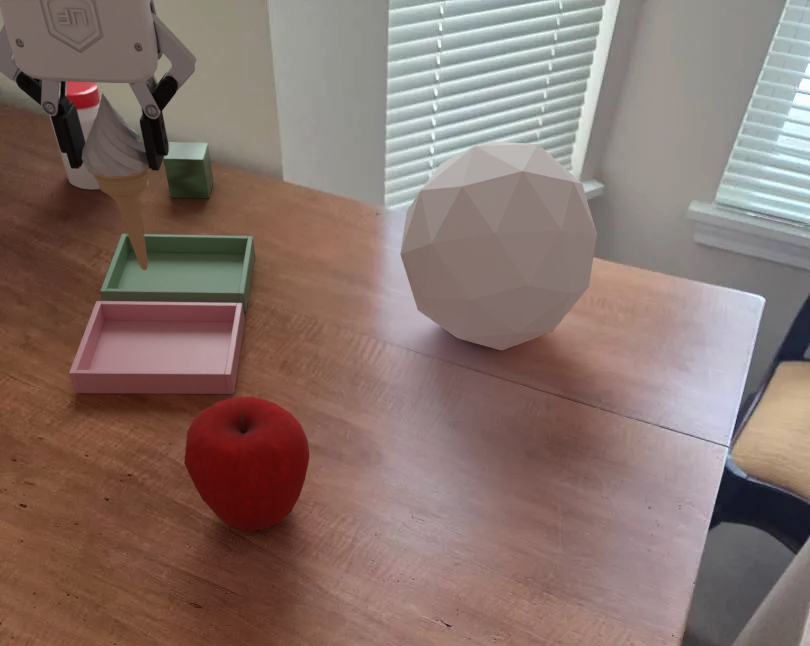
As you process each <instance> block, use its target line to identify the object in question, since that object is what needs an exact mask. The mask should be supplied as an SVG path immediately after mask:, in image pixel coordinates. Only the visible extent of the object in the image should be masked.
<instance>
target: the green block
mask: <svg viewBox="0 0 810 646" xmlns="http://www.w3.org/2000/svg"><path fill="white" fill-rule="evenodd" d="M168 145H169V153H168V155H167V156H164V158H163V164H164V169H165V175H166V179H167V180H166V181H167V185H168V188H169V189H168V190H169V195H170V198H172V199H173V198H175V199H176V198H179V199H210V196H211V192H212V190H213V189H212V188H213V185H214V176H213V175H214V174H213V168H212V162H211V155H210V154H211V153H210V149H209V142H190V141H189V142H188V141H187V142H186V141H182V142H181V141H168Z"/></svg>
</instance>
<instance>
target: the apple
mask: <svg viewBox="0 0 810 646" xmlns="http://www.w3.org/2000/svg"><path fill="white" fill-rule="evenodd" d="M185 441H186V442H185V443H186V444H185V452H184V462H183V463H184V466H185V469H186V470H187V473H188V475H189V477H190V479H191V481H192V482H193V485H194V487H195V489H196V491H197V493H198V494H199V496H200V498H201V500H202V501H203V502H204V503H205V505H207V506H208V508H209V509H211V511H212V512H213V513H214V514H215V515H216V516H217V517H218V519H220V520H221V521H222V522H224V523H226V525H228V526H230V527H232V528H237V529H241V530H249V531H251V530H265V529H268V528H270V527H273V526H276V525H278V524H281V523H282V522H283V521H284V520H285V519H286V518H287V517H288V516H289V515H290V514H291V513H292V511H293V509H294V507H295V505H296V503H297V502H298V500H299V498H300V496H301V493H302V490H303V487H304V484H305V481H306V477H307V472H308V468H309V467H308V466H309V461H310V449H309V440H308V438H307V435H306V433H305V430H304V428H303V426H302V424H301V423H300V422H299V420H297V418H296V416H294V415H293V414H292V413H291V412H290V411H289V410H287V409H285V408H284V407H282V406H280V405H279V404H277V403H275V402H272V401H270V400H268V399H263V398H259V397H256V396H253V395H252V396H234V397H231V398H227V399H223V400H220V401H217V402H216V403H214V404H213V405H211V406H209V407H207V409H205V410H203V411H202V412H200V413H198V414H196V415H195V417H194V419H193V420H192V422H191V424H190V425H189V427H188V429H187V431H186V440H185Z"/></svg>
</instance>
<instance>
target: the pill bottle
mask: <svg viewBox="0 0 810 646" xmlns="http://www.w3.org/2000/svg"><path fill="white" fill-rule="evenodd" d="M66 97H67V98H68V99H69V102H73V105H75V106H76V109H77V113H78V116H79V120H80V124H81V128H82V131H83V135H84V139H85V142H86V140H87V138H88V135H89V133H90V130H91V128H92V125H93V122H94V120H95V118H96V116H97V113H98V109H99V105H100V100H101V94H100V91H99V86H98V84H97V82H69V81H67V92H66ZM48 117H49V120H50V124H51V127H52V130H53V135H54V137H55V141H56V145H57V147H58V151H59V154H60V159H61V162H62V165H63V167H64V171H65V174H66V178H67V180H68V183H69V184H70V185H72V186H73V187H76V188H79V189H82V190H90V191H91V190H92V191H94V190H101V189H100V187H99V186H100V185H99V184H98V182H97V180H96V179H95V178H94V176H93V174H91V173H90V172H89V171H88V169H87V168H86V166H85V164H84V162H83V164H82V166H81V167H79V169H72V168H71V167H70V164H69V160H68V157H67V153H62V152H61V150H60V147H59V144H58V140H57V137H56V133H55V130H54V127H53V123H52V120H51V116H49V115H48Z"/></svg>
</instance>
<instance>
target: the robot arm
mask: <svg viewBox="0 0 810 646" xmlns="http://www.w3.org/2000/svg"><path fill="white" fill-rule="evenodd" d="M156 7H157V6H156V4H155V0H0V11H1V16H2V19H3V25H2V27H1V30H0V73H2V74H3V75H4V76H5V77H6V78H8V79H9V80H10V81H13V82H15V83H16V85H17V87H18V88H19V89H20V90H21V91H22V92H24V94H26V95H27V96H29V97H30V99H32V100H33V101H35V102H36V103H37V104H38V105H39V106H40V107H41V111H42V112H43V113H44V114H45V115H46V116H48V117H49V116H51V120H52V123H53V127H54V130H55V133H56V137H57V140H58V144H59V147H60V150H61V152H62V153H67V157H68V160H69V164H70V167H71V168H72V169H79V167H81V166H82V164H83V160H82V150H83V148H84V145H85V143H86V142H85V139H84V135H83V131H82V128H81V124H80V120H79V116H78V113H77V109H76V106H75V105H73V102H69V99H68V98H67V97H66V92H67V81H69V82H95V83H102V84H104V83H105V84H128V85H129V87H130V89H131V90H132V93H133V94H134V96H135V98H136V100H137V101H138V103H139V105H140V108H141V113H142V114H141V116H140V117H139V127H140V132H141V138H142V141H143V144H144V146H145V151H146V156H147V160H148V165H149V170H150V169H151V171H155V172H156V171H158V172H159V171H160V169H161V166H162V163H163V162H164V160H163V158H164V156H167V155H168V153H169V145H168V144H169V139H168V135H167V129H166V124H165V119H164V113H163V110H165V108H166V107H167V105H168V104H169V103H170V102H171V100H172V99H173V98H174V97H175V95H176V93H177V92H178V91H179V90H180V89H181V87H182V86H183V85H185V83H186V82H187V81H188V80H189V79H190V77H191V76H192V75H193V74H194V73H195V71H196V68H197V65H198V60H197V58H196V56H195V55H194V54H193V53H192V52H191V50H189V48H188V47H187V46H186V45H185V44H184V43H183V42H182V41H181V40H180V39H179V38H178V37H177V36H176V35H175V34H174V32H173V31H171V30H170V28H169V27H168V26H167V25H166V24H165V23H164V22H163V21H162V19H160V18H159V17H158V12H157V8H156ZM163 55H164V56H165V57H166V58H167V59H168V61H169V62H170V63H171V66H170V68H169V69H168V71H166V72H165V73H164V75H162V77H161V78H160V80H159V81H158V80H157V78H156V76H155V73H156V71H157V70H158V63H159V60H160V59H161V58H162V57H163ZM53 127H52V128H53ZM58 144H57V145H58Z"/></svg>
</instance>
